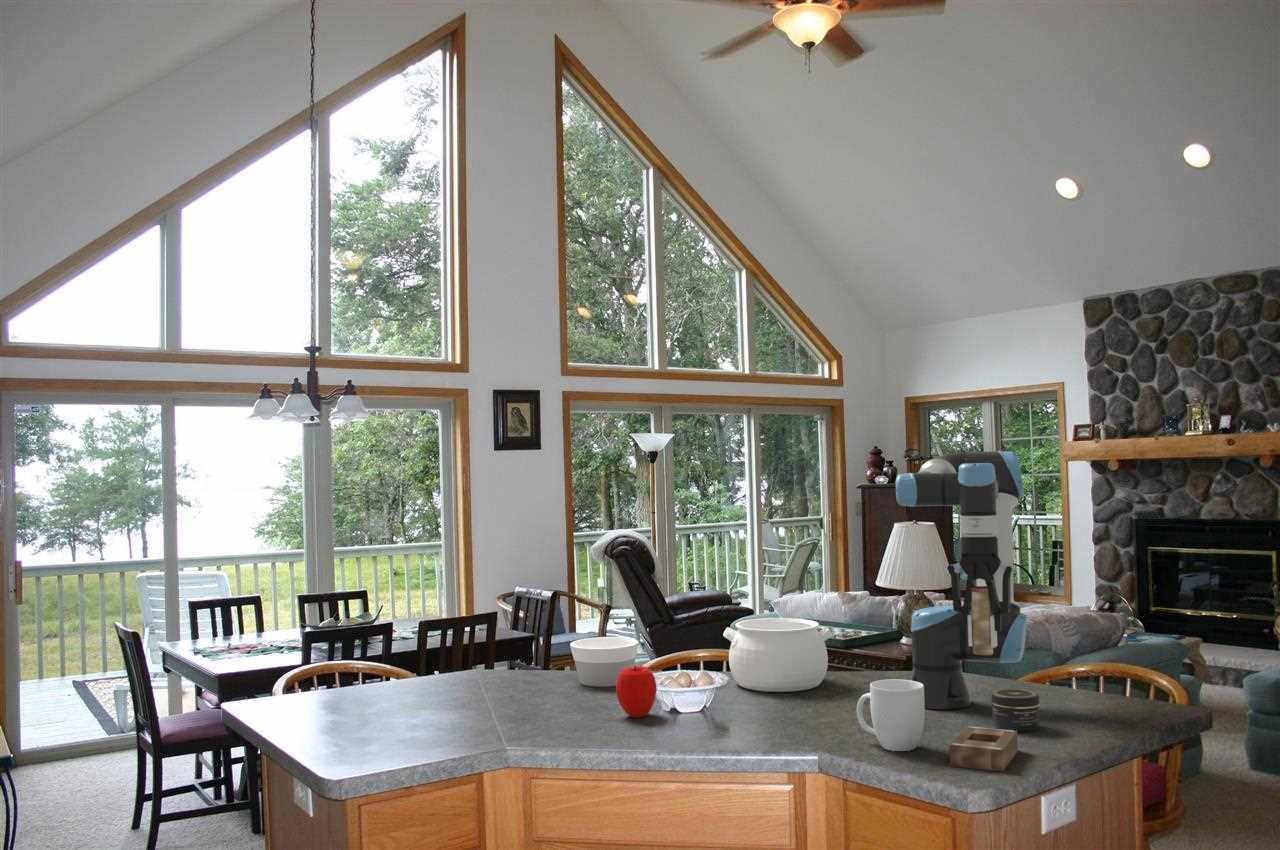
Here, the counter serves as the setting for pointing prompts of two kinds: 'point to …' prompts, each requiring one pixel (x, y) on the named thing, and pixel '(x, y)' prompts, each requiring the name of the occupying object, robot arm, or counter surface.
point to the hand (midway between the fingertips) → (982, 645)
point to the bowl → (603, 659)
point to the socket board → (983, 748)
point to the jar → (1015, 709)
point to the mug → (895, 713)
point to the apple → (636, 690)
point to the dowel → (981, 620)
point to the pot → (778, 654)
